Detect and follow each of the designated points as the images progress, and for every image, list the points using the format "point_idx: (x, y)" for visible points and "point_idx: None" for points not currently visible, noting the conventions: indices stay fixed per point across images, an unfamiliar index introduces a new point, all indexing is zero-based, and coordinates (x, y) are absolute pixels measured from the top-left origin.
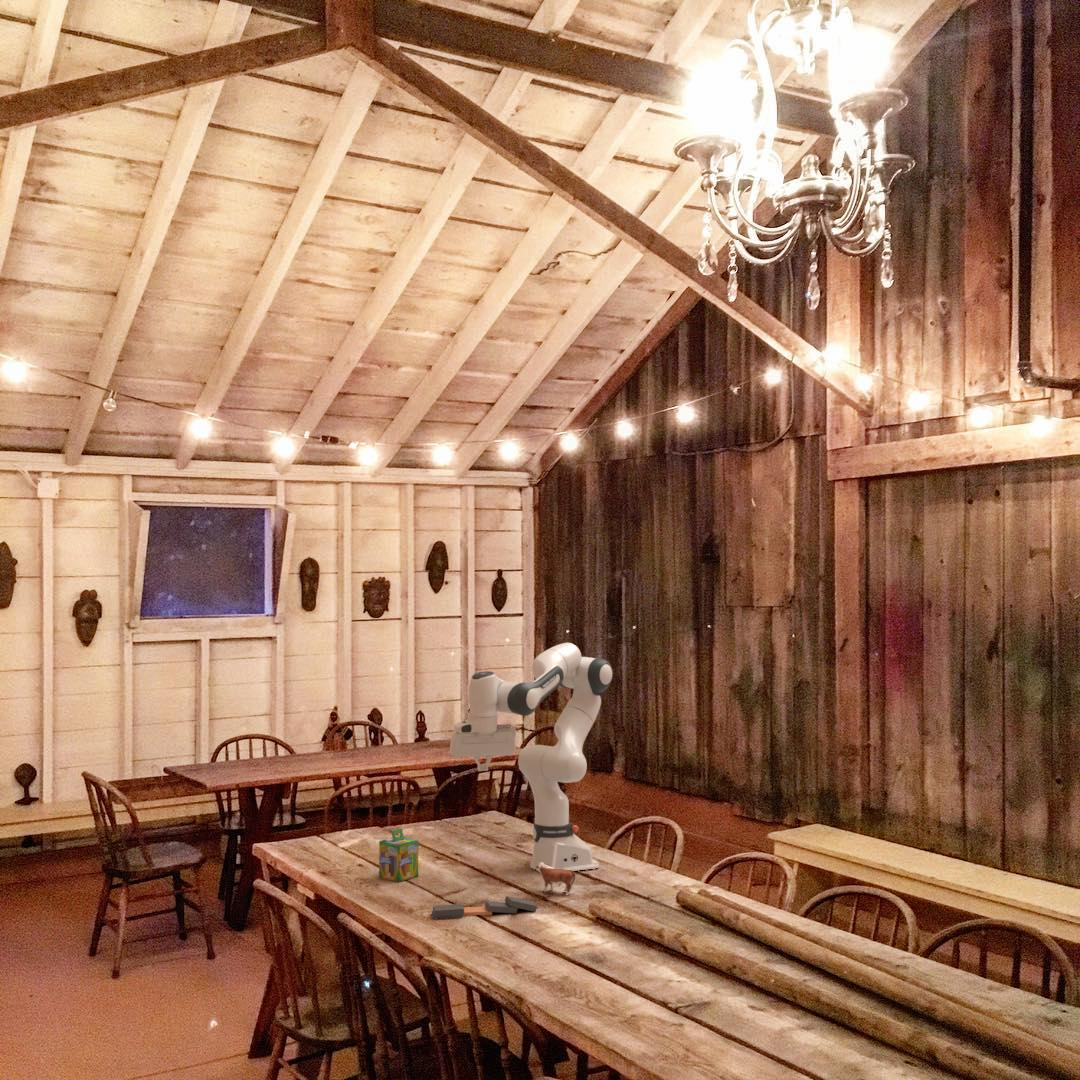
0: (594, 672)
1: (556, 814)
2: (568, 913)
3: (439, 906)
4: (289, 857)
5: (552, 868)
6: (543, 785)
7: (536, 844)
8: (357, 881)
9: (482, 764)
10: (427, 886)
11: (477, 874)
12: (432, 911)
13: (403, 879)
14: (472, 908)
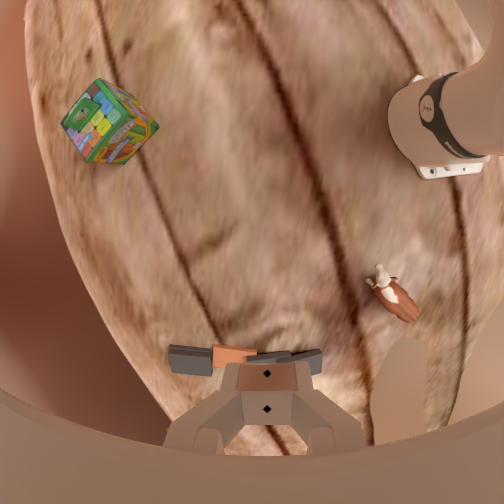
0: None
1: (493, 154)
2: (356, 378)
3: (177, 359)
4: (31, 35)
5: (394, 302)
6: None
7: (418, 122)
8: (71, 149)
9: (267, 395)
10: (168, 196)
11: (276, 130)
12: (170, 348)
13: (130, 156)
14: (227, 354)
